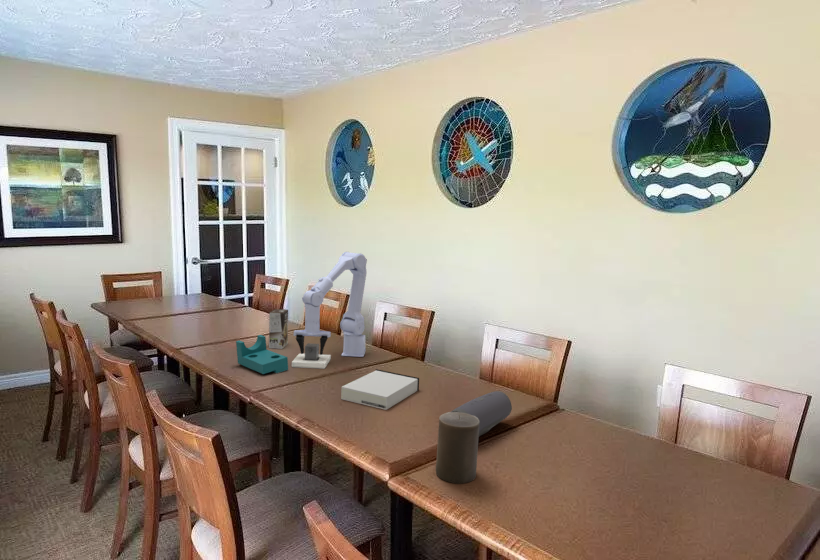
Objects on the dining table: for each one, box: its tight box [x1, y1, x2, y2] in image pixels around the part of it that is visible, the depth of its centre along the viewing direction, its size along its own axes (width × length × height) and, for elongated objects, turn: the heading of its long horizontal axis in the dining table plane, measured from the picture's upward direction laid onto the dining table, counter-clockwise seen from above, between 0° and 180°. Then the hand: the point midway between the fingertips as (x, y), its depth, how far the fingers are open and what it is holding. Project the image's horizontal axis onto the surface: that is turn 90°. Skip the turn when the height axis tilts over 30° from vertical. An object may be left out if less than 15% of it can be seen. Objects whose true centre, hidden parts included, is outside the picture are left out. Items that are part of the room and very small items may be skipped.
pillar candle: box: [435, 411, 480, 485], centre depth 125 cm, size 10×10×15 cm
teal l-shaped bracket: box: [235, 334, 289, 375], centre depth 202 cm, size 18×11×10 cm, turn 47°
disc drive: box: [340, 368, 420, 411], centre depth 179 cm, size 18×22×5 cm
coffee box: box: [268, 308, 289, 350], centre depth 235 cm, size 9×6×16 cm
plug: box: [304, 342, 320, 361], centre depth 211 cm, size 5×6×7 cm
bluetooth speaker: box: [450, 390, 513, 437], centre depth 150 cm, size 23×9×10 cm, turn 141°
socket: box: [291, 352, 332, 370], centre depth 212 cm, size 13×13×2 cm
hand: (311, 353), depth 211 cm, fingers open, 7 cm apart
